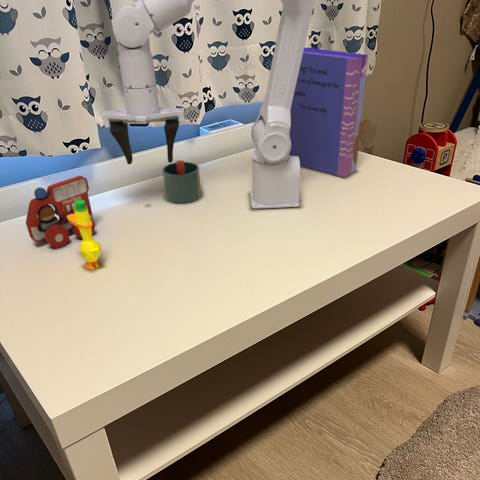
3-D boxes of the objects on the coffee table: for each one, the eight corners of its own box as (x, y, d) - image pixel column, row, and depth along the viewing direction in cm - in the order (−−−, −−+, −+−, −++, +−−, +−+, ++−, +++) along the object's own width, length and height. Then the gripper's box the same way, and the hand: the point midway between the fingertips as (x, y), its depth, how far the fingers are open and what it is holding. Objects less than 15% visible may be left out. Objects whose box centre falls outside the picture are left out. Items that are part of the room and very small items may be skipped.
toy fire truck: (26, 241, 96) (9, 187, 90) (87, 220, 103) (75, 168, 96) (41, 255, 92) (24, 199, 86) (104, 232, 98) (93, 179, 92)
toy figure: (71, 263, 89) (54, 198, 82) (88, 255, 91) (73, 190, 84) (95, 277, 86) (79, 209, 78) (112, 268, 88) (98, 201, 81)
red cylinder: (187, 192, 110) (184, 160, 106) (187, 195, 109) (183, 163, 105) (179, 193, 110) (176, 160, 106) (179, 196, 109) (175, 163, 105)
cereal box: (355, 171, 118) (368, 53, 103) (344, 178, 115) (355, 58, 100) (292, 155, 127) (296, 45, 112) (281, 161, 124) (282, 49, 110)
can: (201, 188, 113) (199, 161, 109) (200, 202, 107) (198, 174, 104) (167, 189, 113) (164, 162, 109) (164, 204, 107) (160, 176, 104)
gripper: (93, 92, 88) (108, 170, 96) (179, 88, 88) (187, 167, 96) (101, 82, 94) (114, 157, 102) (182, 79, 94) (189, 154, 102)
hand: (150, 161), depth 99 cm, fingers open, 7 cm apart
